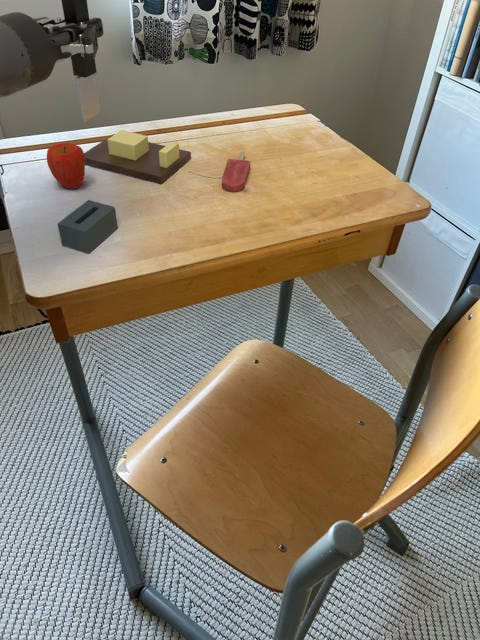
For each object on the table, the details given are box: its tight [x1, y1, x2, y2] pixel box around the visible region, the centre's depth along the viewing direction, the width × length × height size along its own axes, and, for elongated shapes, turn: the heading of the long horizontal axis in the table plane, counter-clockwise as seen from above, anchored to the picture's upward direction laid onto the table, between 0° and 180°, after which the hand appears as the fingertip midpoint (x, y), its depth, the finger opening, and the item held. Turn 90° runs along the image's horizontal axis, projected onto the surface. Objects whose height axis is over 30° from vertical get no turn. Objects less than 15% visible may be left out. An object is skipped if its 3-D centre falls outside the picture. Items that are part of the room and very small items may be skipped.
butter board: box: [84, 133, 192, 185], centre depth 101 cm, size 18×12×2 cm, turn 67°
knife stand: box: [56, 199, 119, 255], centre depth 80 cm, size 5×8×4 cm, turn 157°
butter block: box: [106, 129, 149, 160], centre depth 100 cm, size 6×5×3 cm
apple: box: [46, 142, 86, 189], centre depth 91 cm, size 6×6×8 cm
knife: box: [61, 0, 101, 123], centre depth 70 cm, size 2×4×16 cm, turn 157°
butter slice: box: [159, 141, 180, 168], centre depth 97 cm, size 2×5×3 cm, turn 157°
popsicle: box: [221, 151, 251, 193], centre depth 99 cm, size 4×2×15 cm
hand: (91, 24), depth 70 cm, fingers closed on knife, 2 cm apart
